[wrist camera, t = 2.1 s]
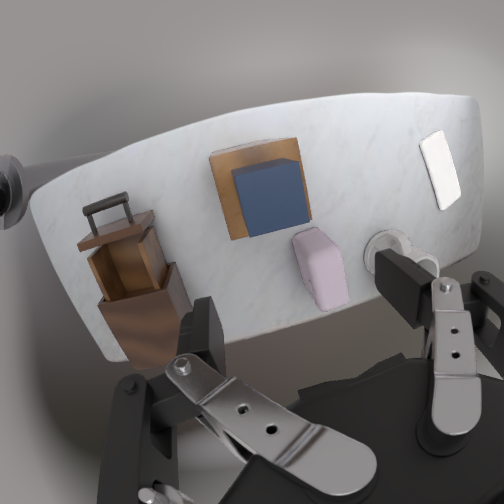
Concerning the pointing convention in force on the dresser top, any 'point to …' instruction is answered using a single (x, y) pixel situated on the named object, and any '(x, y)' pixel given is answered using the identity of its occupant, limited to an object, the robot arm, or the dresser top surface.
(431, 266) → the cup
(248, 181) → the block
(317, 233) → the electronic device
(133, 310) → the cabinet
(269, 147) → the stand
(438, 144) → the smartphone
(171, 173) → the dresser top surface
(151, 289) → the drawer
